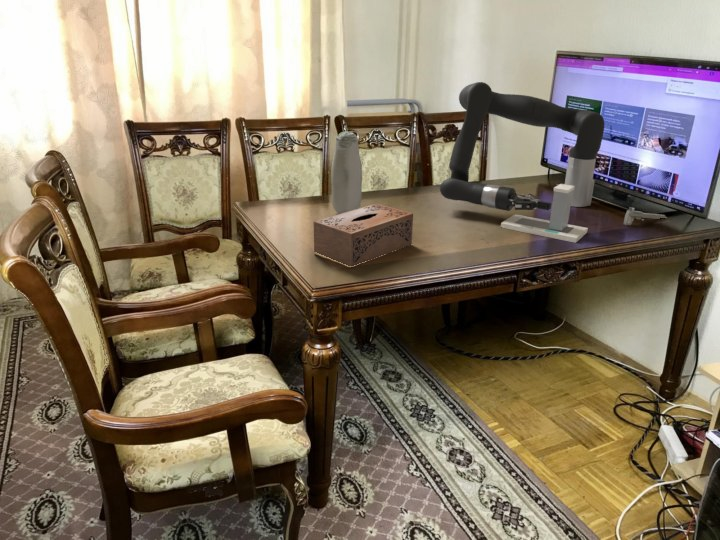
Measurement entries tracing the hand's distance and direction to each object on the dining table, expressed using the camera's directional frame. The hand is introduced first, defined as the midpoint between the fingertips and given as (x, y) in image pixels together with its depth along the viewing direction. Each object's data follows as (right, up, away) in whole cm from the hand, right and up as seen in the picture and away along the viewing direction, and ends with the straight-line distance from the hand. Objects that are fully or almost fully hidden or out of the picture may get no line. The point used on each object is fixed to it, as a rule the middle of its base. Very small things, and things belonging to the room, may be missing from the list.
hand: (550, 206), depth 184 cm
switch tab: (+3, -6, +1) cm, 7 cm away
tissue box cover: (-59, -15, -15) cm, 62 cm away
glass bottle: (-64, -1, +16) cm, 66 cm away
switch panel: (-1, -7, +4) cm, 8 cm away
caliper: (+36, -4, +14) cm, 39 cm away
